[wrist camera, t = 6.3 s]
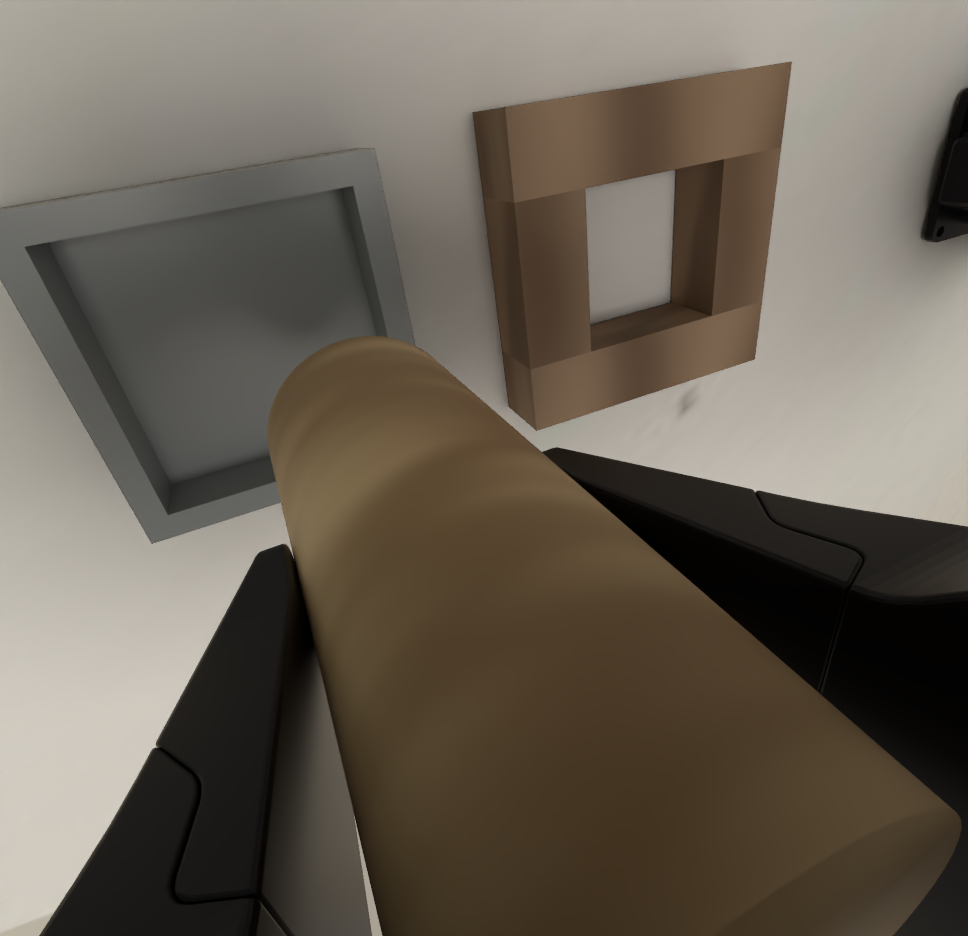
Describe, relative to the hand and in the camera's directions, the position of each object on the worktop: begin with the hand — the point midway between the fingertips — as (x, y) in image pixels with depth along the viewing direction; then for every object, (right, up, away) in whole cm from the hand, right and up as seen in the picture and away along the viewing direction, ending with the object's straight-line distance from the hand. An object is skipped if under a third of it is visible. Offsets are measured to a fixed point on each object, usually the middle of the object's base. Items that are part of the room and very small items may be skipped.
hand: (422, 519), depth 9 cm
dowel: (-1, +2, +3) cm, 4 cm away
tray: (-7, +5, +10) cm, 13 cm away
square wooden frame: (+6, +9, +13) cm, 17 cm away
